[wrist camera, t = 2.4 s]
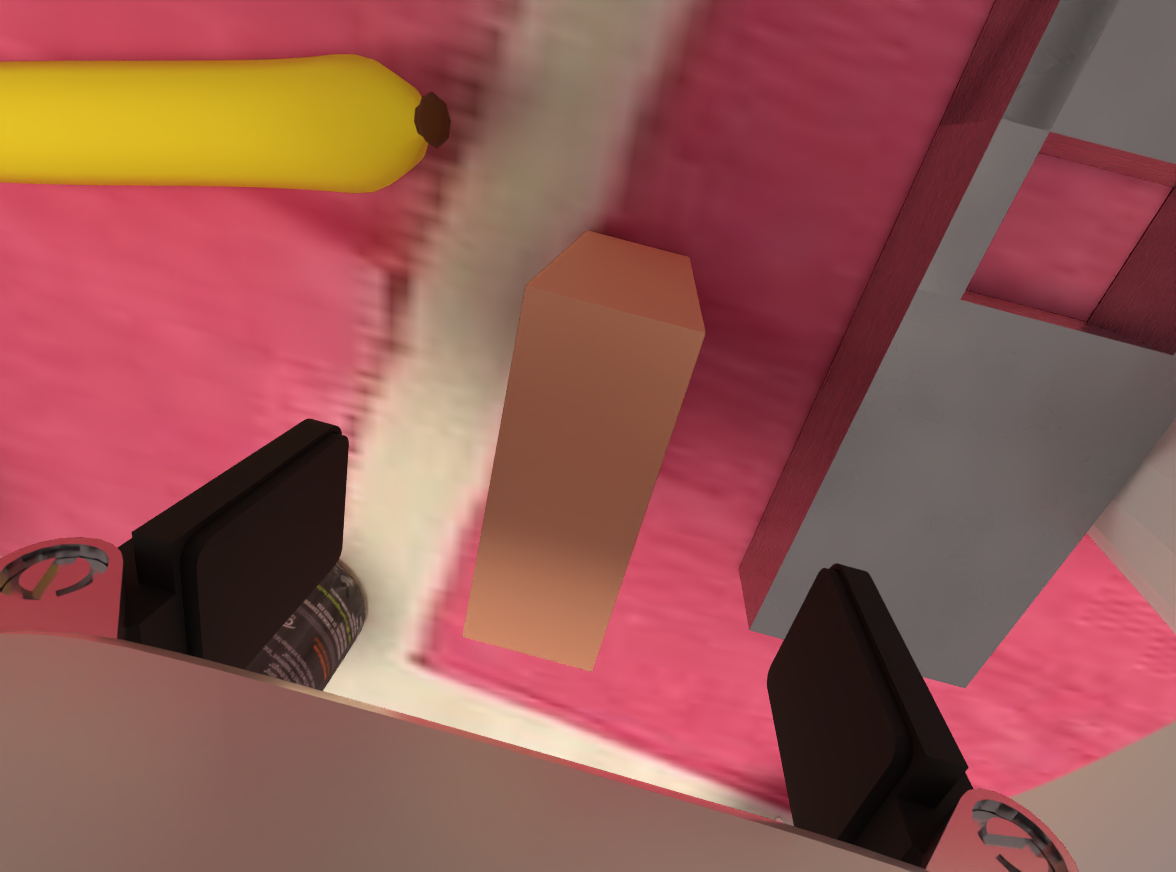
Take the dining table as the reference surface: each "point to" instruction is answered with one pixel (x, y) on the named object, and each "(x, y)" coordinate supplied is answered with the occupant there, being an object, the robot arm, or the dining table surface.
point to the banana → (215, 123)
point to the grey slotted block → (989, 354)
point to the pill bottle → (315, 634)
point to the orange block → (581, 443)
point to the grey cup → (1146, 528)
